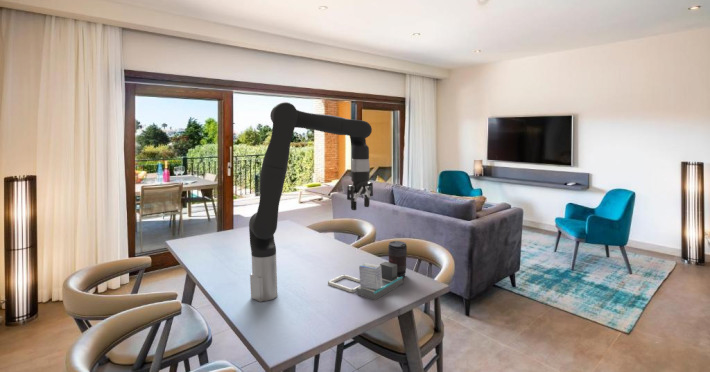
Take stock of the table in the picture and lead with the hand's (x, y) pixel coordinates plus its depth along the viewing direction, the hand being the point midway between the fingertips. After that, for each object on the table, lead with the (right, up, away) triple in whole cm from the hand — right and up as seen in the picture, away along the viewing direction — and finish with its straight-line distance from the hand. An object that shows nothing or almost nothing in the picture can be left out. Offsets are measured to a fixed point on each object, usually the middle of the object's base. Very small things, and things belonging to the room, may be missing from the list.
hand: (360, 208), depth 153 cm
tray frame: (-5, -32, +1) cm, 33 cm away
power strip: (+8, -33, -3) cm, 34 cm away
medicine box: (+4, -31, -9) cm, 32 cm away
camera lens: (+17, -31, +10) cm, 37 cm away
